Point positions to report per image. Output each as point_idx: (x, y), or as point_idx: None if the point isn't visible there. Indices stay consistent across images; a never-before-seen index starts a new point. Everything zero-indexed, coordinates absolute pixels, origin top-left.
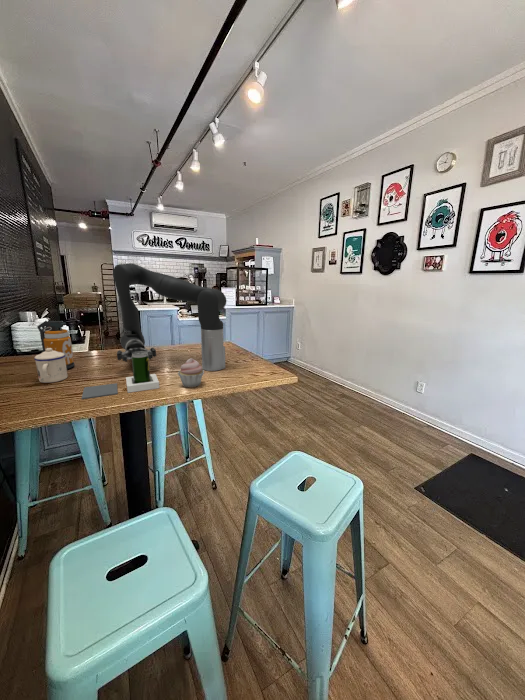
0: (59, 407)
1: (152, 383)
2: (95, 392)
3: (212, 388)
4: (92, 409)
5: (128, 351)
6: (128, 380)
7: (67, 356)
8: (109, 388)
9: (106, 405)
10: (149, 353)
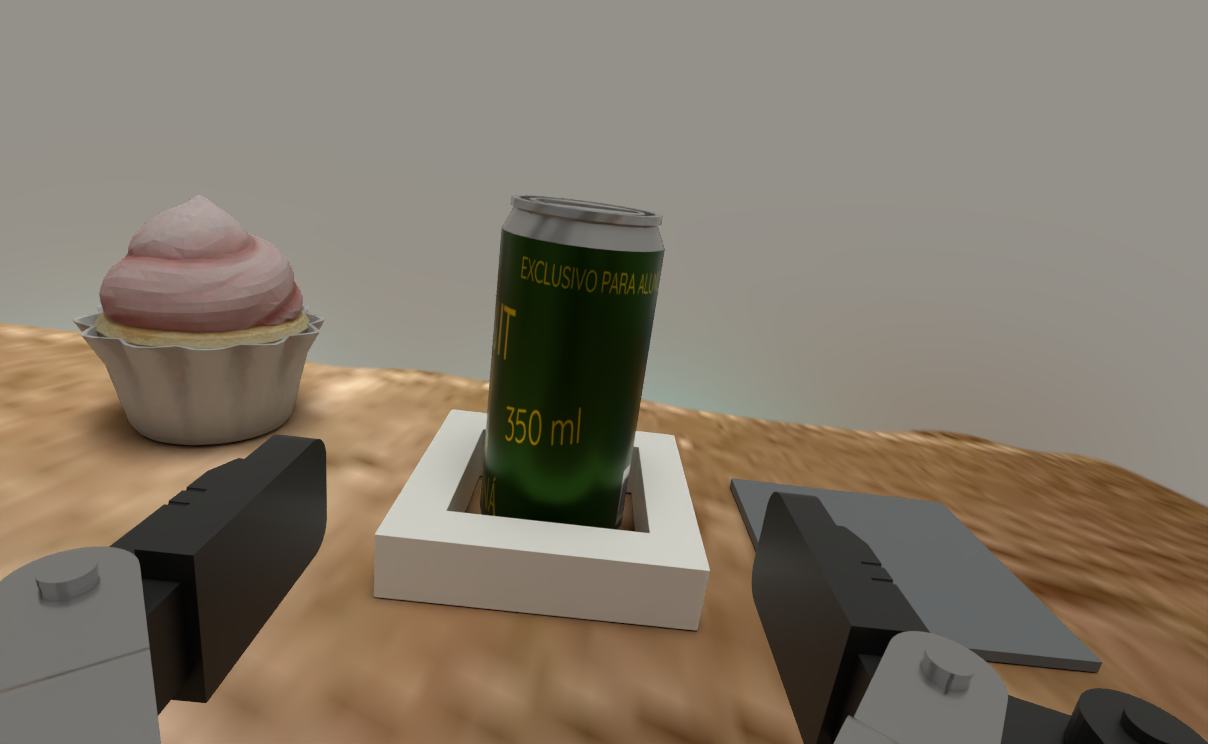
0: (995, 483)
1: None
2: (899, 535)
3: None
4: (807, 425)
5: (843, 725)
6: (673, 501)
7: None
8: None
9: (755, 427)
10: (267, 461)
